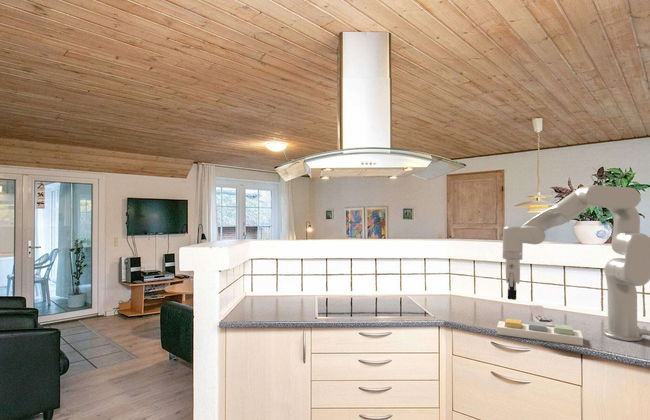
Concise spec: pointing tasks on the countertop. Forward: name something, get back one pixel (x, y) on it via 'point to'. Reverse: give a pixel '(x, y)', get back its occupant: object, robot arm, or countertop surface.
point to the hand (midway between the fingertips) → (511, 299)
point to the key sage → (563, 329)
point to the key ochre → (513, 323)
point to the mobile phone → (540, 315)
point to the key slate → (537, 326)
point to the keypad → (540, 334)
